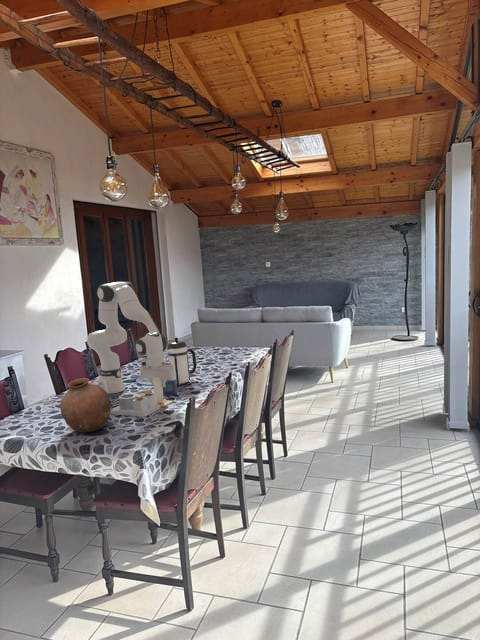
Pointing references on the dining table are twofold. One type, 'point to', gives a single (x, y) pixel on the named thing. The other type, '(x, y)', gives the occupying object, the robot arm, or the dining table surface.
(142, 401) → the housing
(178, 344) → the coffee press
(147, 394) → the plunger
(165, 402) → the trivet
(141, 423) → the dining table surface
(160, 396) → the cartridge
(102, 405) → the pottery
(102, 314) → the robot arm
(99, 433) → the dining table surface
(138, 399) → the plunger
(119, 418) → the dining table surface
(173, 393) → the dark blue rectangular block
